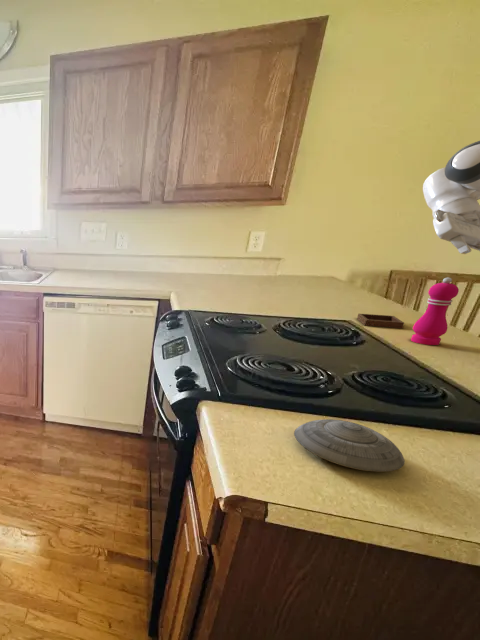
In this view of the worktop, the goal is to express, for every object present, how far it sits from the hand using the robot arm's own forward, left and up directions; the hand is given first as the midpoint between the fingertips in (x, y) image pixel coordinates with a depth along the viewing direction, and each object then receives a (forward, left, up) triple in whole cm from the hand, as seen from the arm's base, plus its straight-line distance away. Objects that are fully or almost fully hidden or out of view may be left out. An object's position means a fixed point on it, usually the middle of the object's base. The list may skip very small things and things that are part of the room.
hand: (477, 256), depth 109 cm
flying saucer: (-20, +87, -27) cm, 93 cm away
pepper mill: (+4, 0, -27) cm, 27 cm away
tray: (+22, -13, -27) cm, 37 cm away
